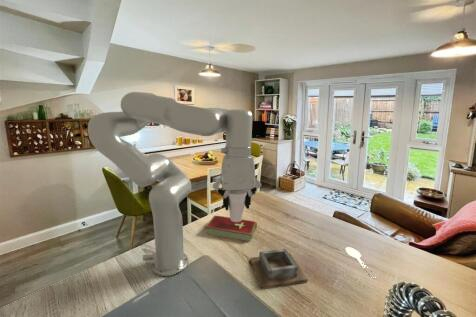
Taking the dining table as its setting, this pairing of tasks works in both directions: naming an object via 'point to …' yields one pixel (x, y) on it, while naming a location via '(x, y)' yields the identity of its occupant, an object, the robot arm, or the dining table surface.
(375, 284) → the dining table surface
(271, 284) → the holder
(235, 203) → the smoothie
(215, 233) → the hardcover book
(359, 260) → the spoon
